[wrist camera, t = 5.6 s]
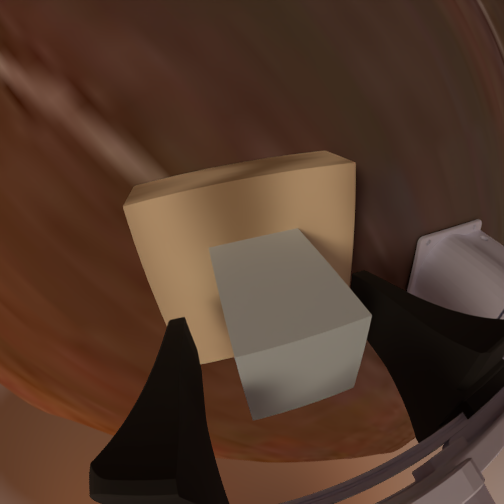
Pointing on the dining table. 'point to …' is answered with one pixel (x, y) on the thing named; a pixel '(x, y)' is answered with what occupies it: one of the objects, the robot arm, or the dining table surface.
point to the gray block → (288, 321)
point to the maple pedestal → (236, 228)
